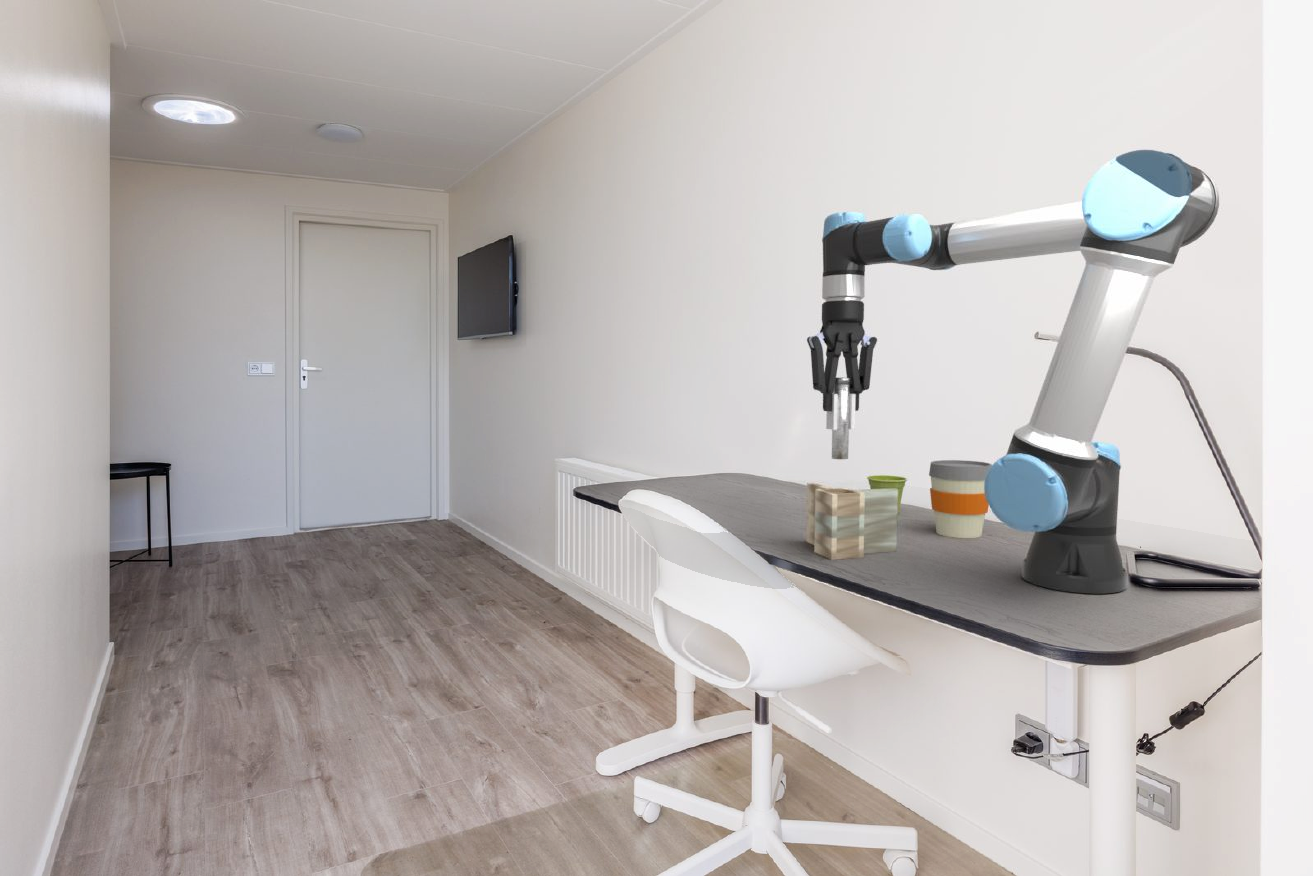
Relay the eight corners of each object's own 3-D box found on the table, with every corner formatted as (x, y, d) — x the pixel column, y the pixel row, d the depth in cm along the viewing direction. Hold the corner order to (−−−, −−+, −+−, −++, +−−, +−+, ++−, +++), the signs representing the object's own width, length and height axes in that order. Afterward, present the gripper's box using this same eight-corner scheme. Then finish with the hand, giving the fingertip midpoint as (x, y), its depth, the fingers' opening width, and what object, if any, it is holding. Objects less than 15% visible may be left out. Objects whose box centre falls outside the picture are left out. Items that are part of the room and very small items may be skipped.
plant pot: (906, 510, 194) (907, 475, 193) (906, 517, 185) (907, 481, 184) (867, 508, 197) (867, 474, 196) (865, 515, 188) (866, 479, 187)
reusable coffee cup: (985, 542, 158) (987, 468, 156) (921, 535, 164) (923, 464, 163) (995, 531, 168) (997, 462, 167) (934, 525, 175) (936, 458, 174)
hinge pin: (852, 459, 145) (853, 377, 144) (836, 459, 144) (837, 377, 143) (843, 457, 148) (844, 377, 147) (827, 457, 147) (829, 377, 146)
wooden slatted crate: (904, 554, 147) (906, 491, 146) (831, 559, 143) (832, 494, 142) (861, 537, 162) (862, 480, 161) (794, 542, 158) (794, 483, 157)
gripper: (870, 303, 149) (867, 426, 151) (793, 301, 145) (792, 428, 147) (892, 300, 142) (889, 429, 144) (812, 297, 138) (810, 431, 140)
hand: (840, 428), depth 145 cm, fingers closed on hinge pin, 3 cm apart
